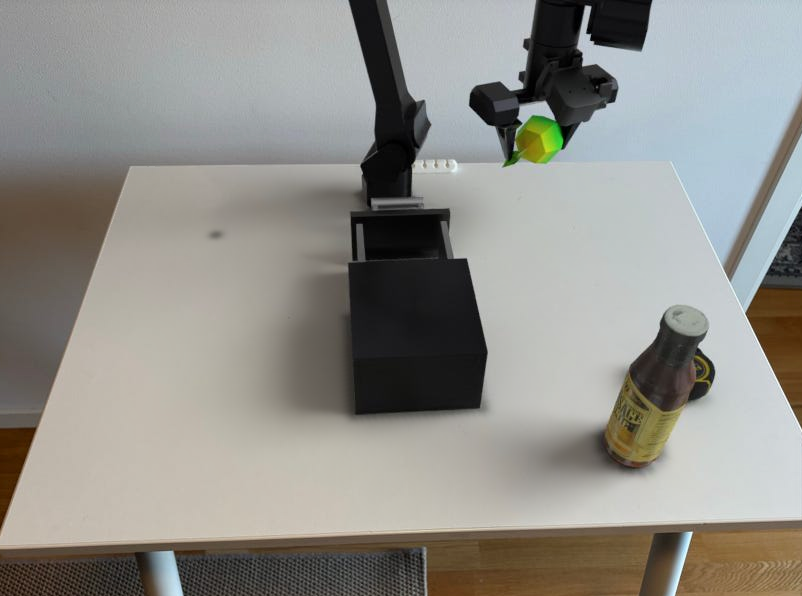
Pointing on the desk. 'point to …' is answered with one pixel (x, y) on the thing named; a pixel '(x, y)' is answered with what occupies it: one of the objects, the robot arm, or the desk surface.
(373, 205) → the tray
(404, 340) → the box
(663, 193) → the desk surface
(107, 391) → the desk surface
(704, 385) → the tape measure
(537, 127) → the apple
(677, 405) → the sauce bottle
